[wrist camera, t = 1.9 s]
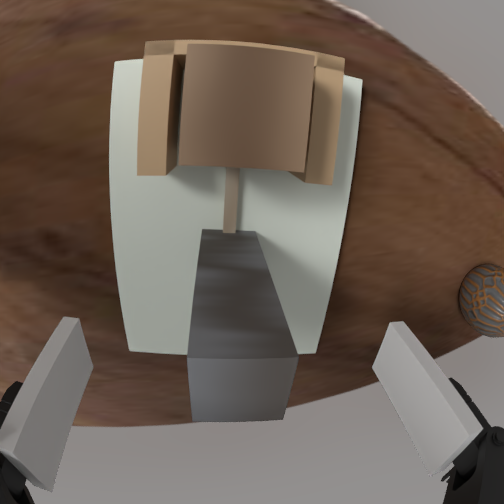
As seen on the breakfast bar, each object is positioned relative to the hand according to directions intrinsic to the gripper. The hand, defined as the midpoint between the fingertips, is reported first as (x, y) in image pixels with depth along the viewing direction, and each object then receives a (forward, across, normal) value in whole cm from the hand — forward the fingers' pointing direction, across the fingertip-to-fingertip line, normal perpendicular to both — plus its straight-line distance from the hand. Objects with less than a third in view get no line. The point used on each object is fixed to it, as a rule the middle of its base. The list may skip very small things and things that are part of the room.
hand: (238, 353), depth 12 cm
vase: (+11, +26, -3) cm, 28 cm away
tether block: (+10, 0, +5) cm, 11 cm away
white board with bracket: (+11, 0, +2) cm, 11 cm away
